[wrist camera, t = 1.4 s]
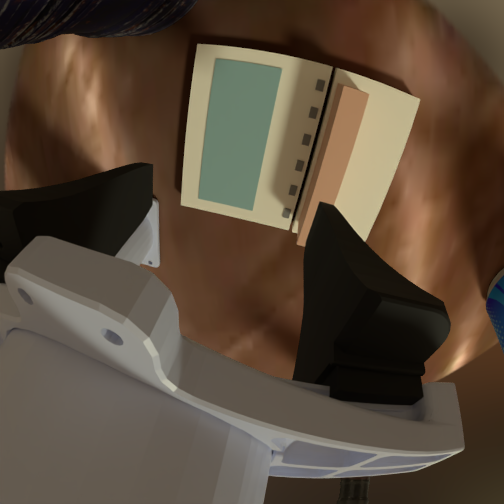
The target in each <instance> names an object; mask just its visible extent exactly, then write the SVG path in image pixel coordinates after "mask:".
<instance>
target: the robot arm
mask: <svg viewBox="0 0 504 504" xmlns="http://www.w3.org/2000/svg"><path fill="white" fill-rule="evenodd" d="M141 263H142V264H146V265H149V266H153V267H158V266H159V265H160V248H159V203H158V201H157V200H156V199H154V198H153V164H148V163H142V162H140V163H133V164H129V165H125V166H122V167H118V168H115V169H112V170H109V171H105V172H102V173H99V174H96V175H92V176H89V177H86V178H82V179H79V180H75V181H71V182H67V183H63V184H58V185H52V186H47V187H41V188H34V189H25V190H10V191H0V504H263V502H264V496H265V491H266V486H267V480H268V476H278V477H295V478H344V477H362V476H374V475H385V474H393V473H394V474H395V473H404V472H412V471H417V470H419V469H422V468H425V467H427V466H429V465H432V464H434V463H437V462H439V461H441V460H444V459H445V458H448V457H450V456H452V455H454V454H456V453H459V452H460V451H463V449H464V448H465V447H464V437H463V430H462V423H461V415H460V409H459V404H458V398H457V393H456V388H455V384H454V383H443V382H442V383H441V382H429V383H426V384H423V385H422V382H421V376H423V375H424V374H425V366H424V362H425V361H426V360H427V359H428V358H429V357H430V356H431V355H432V354H433V353H434V352H435V351H436V350H437V349H438V348H439V347H440V346H441V345H442V344H443V342H444V341H445V340H446V338H447V336H448V334H449V332H450V326H451V323H450V319H449V317H448V314H447V311H446V308H445V305H444V302H443V301H441V300H440V299H438V298H436V297H434V296H433V295H431V294H429V293H428V292H426V291H424V290H422V289H421V288H419V287H418V286H416V285H415V284H413V283H412V282H410V281H409V280H407V279H406V278H405V277H403V276H402V275H401V274H399V273H398V272H397V271H396V270H394V269H393V268H392V267H391V266H389V265H388V264H387V263H386V262H385V261H383V260H382V259H381V258H380V257H379V256H378V255H377V254H376V253H375V252H374V251H373V250H372V249H371V248H370V247H369V246H368V245H367V244H366V243H365V242H364V240H363V239H362V238H361V237H360V236H359V235H358V234H357V233H356V231H355V230H354V229H353V228H352V226H351V225H350V224H349V223H348V221H347V220H346V219H345V218H344V216H343V215H342V214H341V213H340V211H339V210H338V209H337V208H336V207H335V206H334V205H332V204H328V203H325V202H321V201H319V204H318V207H317V210H316V213H315V216H314V219H313V222H312V225H311V228H310V231H309V234H308V237H307V240H306V244H305V252H304V309H303V319H302V327H301V334H300V341H299V347H298V353H297V358H296V364H295V369H294V374H293V379H292V380H288V379H283V378H278V377H273V376H271V375H268V374H266V373H263V372H261V371H259V370H256V369H254V368H251V367H249V366H247V365H244V364H242V363H240V362H238V361H235V360H233V359H231V358H229V357H227V356H224V355H222V354H220V353H218V352H216V351H214V350H211V349H209V348H207V347H205V346H203V345H201V344H199V343H197V342H195V341H193V340H191V339H189V338H187V337H185V336H183V335H181V334H180V330H179V319H178V309H177V306H176V303H175V301H174V298H173V295H172V293H171V291H170V290H169V289H168V288H167V287H166V286H165V285H164V284H163V283H162V282H161V281H160V280H159V279H158V278H157V277H156V275H155V274H154V273H152V272H150V271H148V270H146V269H144V268H142V267H140V264H141Z"/></svg>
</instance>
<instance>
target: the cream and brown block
mask: <svg viewBox="0 0 504 504" xmlns="http://www.w3.org/2000/svg"><path fill="white" fill-rule="evenodd" d="M419 102H420V99H418V98H416V97H414V96H411V95H409V94H407V93H405V92H402V91H400V90H398V89H395V88H393V87H390V86H388V85H385V84H383V83H380V82H377V81H375V80H372V79H369V78H366V77H363V76H361V75H358V74H355V73H352V72H348V71H345V70H342V69H339V68H335V72H334V77H333V81H332V84H331V88H330V92H329V96H328V100H327V104H326V108H325V112H324V115H323V119H322V123H321V127H320V130H319V134H318V138H317V141H316V145H315V149H314V152H313V156H312V159H311V163H310V167H309V170H308V174H307V177H306V181H305V184H304V188H303V191H302V195H301V198H300V201H299V205H298V208H297V212H296V215H295V218H294V222H293V227H292V232H294V233H298V234H297V245H301V246H305V244H306V240H307V237H308V234H309V231H310V228H311V225H312V222H313V219H314V216H315V213H316V210H317V207H318V204H319V201H321V202H325V203H328V204H332V205H334V206H335V207H336V208H337V209H338V210H339V211H340V213H341V214H342V215H343V216H344V218H345V219H346V220H347V221H348V223H349V224H350V225H351V226H352V228H353V229H354V230H355V231H356V233H357V234H358V235H359V236H360V237H361V238H362V239H363V240H364V242H365V241H366V239H367V237H368V235H369V232H370V230H371V228H372V226H373V224H374V221H375V219H376V217H377V215H378V212H379V210H380V208H381V205H382V203H383V201H384V198H385V196H386V194H387V191H388V189H389V186H390V184H391V181H392V179H393V176H394V174H395V171H396V169H397V166H398V163H399V161H400V158H401V155H402V153H403V150H404V147H405V144H406V142H407V139H408V136H409V133H410V130H411V127H412V124H413V121H414V118H415V115H416V112H417V109H418V105H419Z"/></svg>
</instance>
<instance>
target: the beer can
mask: <svg viewBox="0 0 504 504" xmlns="http://www.w3.org/2000/svg"><path fill="white" fill-rule="evenodd" d="M486 310H487V313H488V315H489V317H490V320H491V322H492V324H493V327H494V329H495V332H496V334H497V337H498V339H499V342H500V345H501V347H502V350H503V353H504V268H503V269H502V270H501V271H500V272H499V273H498V274H497V275H496V276H495V278H494V279H493V281H492V282H491V284H490V286H489V289H488V293H487V301H486Z"/></svg>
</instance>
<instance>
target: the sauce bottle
mask: <svg viewBox="0 0 504 504" xmlns="http://www.w3.org/2000/svg"><path fill="white" fill-rule="evenodd" d="M370 478H371V476H362V477H344V478H341V482H340V485H341V488H340V494H339V499H338V501H337V504H368V501H369V500H368V497H367V496H368V486H369V483H370V481H369V480H370Z"/></svg>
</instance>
